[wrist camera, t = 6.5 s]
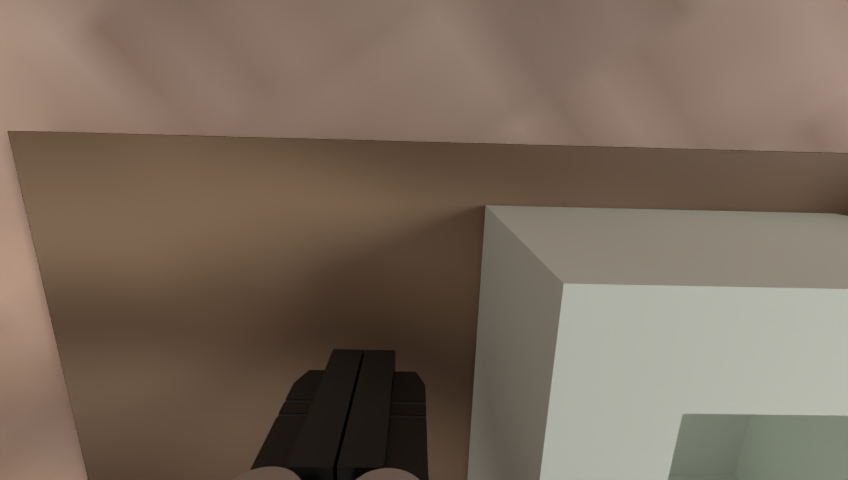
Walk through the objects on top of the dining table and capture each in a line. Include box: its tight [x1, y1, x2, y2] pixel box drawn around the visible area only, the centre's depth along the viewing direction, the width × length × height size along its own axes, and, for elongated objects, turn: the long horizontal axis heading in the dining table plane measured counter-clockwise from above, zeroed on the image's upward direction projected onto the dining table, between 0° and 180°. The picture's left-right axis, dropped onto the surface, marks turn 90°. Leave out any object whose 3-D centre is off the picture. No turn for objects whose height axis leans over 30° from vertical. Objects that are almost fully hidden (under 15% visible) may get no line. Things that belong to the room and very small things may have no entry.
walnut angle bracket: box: [8, 131, 848, 480], centre depth 8 cm, size 12×25×9 cm, turn 88°
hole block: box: [467, 205, 848, 480], centre depth 8 cm, size 9×9×6 cm
